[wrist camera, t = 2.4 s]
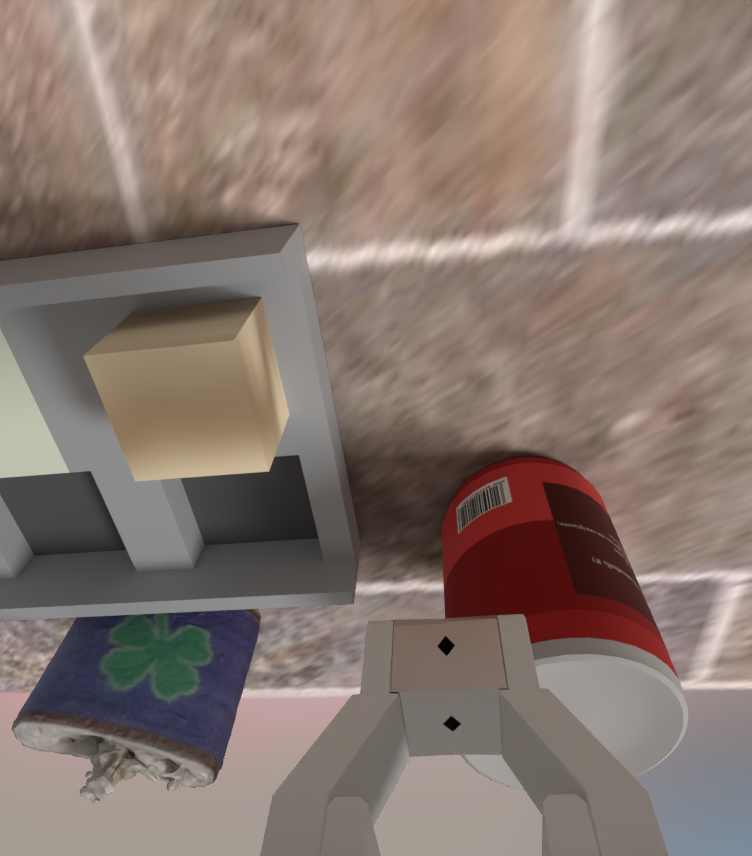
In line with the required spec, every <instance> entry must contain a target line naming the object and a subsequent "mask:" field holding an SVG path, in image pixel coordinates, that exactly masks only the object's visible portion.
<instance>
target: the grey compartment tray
mask: <svg viewBox="0 0 752 856" xmlns="http://www.w3.org/2000/svg"><path fill="white" fill-rule="evenodd" d="M259 297H262V300H263V304H264V309H265V313H266V317H267V321H268V326H269V330H270V334H271V338H272V343H273V347H274V351H275V355H276V360H277V364H278V368H279V372H280V377H281V381H282V385H283V389H284V394H285V398H286V402H287V406H288V411H289V417H288V420H287V423H286V425H285V428H284V431H283V434H282V437H281V440H280V442H279V445H278V448H277V451H276V454H275V456H274V459H273V462H272V465H271V468H270V470H269V472H255V473H242V474H228V475H215V476H202V477H188V478H175V479H162V480H148V481H135V479H134V477H133V475H132V472H131V470H130V467H129V465H128V463H127V460H126V458H125V455H124V453H123V451H122V448H121V446H120V443H119V441H118V438H117V436H116V434H115V431H114V429H113V426H112V424H111V422H110V419H109V417H108V414H107V412H106V410H105V407H104V405H103V402H102V400H101V398H100V395H99V393H98V390H97V388H96V386H95V383H94V381H93V378H92V376H91V374H90V371H89V369H88V366H87V364H86V362H85V359H84V357H83V356H84V355H85V354H86V353H87V352H88V351H89V350H90V349H91V348H92V347H94V346H95V345H96V344H97V343H98V342H99V341H100V340H101V339H103V338H104V337H105V336H106V335H107V334H108V333H109V332H110V331H112V330H113V329H114V328H115V327H116V326H117V325H118V324H119V323H121V322H122V321H123V320H124V319H125V318H126V317H127V316H128V315H130V314H131V313H132V312H133V311H140V310H149V309H158V308H168V307H177V306H186V305H195V304H204V303H213V302H222V301H232V300H241V299H250V298H259ZM360 545H361V543H360V538H359V532H358V527H357V522H356V517H355V511H354V506H353V501H352V496H351V490H350V485H349V480H348V474H347V469H346V464H345V459H344V453H343V448H342V443H341V437H340V432H339V427H338V422H337V416H336V411H335V406H334V400H333V395H332V390H331V385H330V379H329V374H328V369H327V364H326V358H325V353H324V348H323V342H322V337H321V332H320V327H319V321H318V316H317V311H316V305H315V300H314V295H313V290H312V284H311V279H310V274H309V268H308V263H307V258H306V253H305V247H304V242H303V237H302V232H301V226H300V224H295V225H286V226H278V227H270V228H262V229H254V230H246V231H238V232H230V233H221V234H213V235H205V236H197V237H189V238H181V239H173V240H165V241H157V242H148V243H140V244H132V245H124V246H116V247H108V248H100V249H92V250H83V251H75V252H67V253H59V254H51V255H43V256H35V257H27V258H18V259H10V260H2V261H0V621H10V620H31V619H52V618H73V617H94V616H115V615H136V614H157V613H178V612H199V611H220V610H241V609H262V608H283V607H304V606H325V605H346V604H354V598H355V589H356V580H357V571H358V563H359V554H360Z"/></svg>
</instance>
